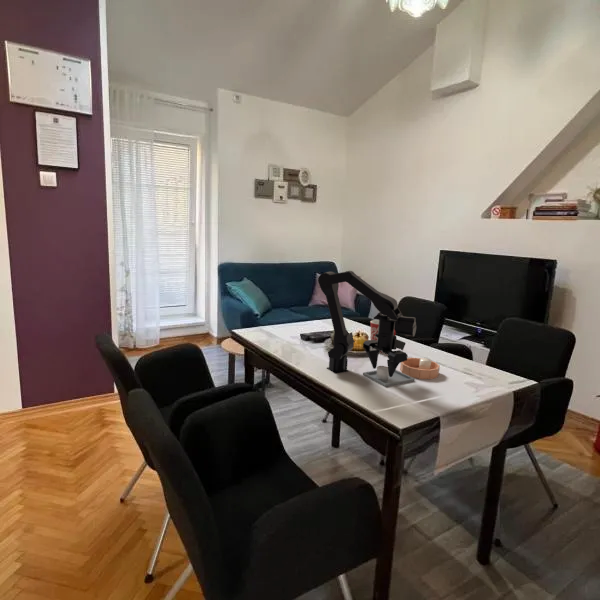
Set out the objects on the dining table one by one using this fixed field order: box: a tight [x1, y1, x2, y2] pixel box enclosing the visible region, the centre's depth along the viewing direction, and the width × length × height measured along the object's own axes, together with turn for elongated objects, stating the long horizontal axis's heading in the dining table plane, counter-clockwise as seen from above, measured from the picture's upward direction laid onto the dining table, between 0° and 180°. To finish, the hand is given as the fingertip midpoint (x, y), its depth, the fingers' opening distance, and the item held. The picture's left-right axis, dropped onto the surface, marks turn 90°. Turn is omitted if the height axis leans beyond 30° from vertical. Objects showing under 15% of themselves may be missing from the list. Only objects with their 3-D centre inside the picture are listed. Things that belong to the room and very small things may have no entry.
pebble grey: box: [376, 365, 389, 381], centre depth 156 cm, size 4×4×4 cm
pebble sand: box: [419, 357, 432, 370], centre depth 167 cm, size 4×4×4 cm
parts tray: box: [362, 369, 416, 388], centre depth 158 cm, size 14×13×1 cm
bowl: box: [399, 357, 440, 380], centre depth 165 cm, size 14×14×4 cm
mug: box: [369, 319, 397, 353], centre depth 192 cm, size 13×9×14 cm
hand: (382, 372), depth 156 cm, fingers open, 9 cm apart
